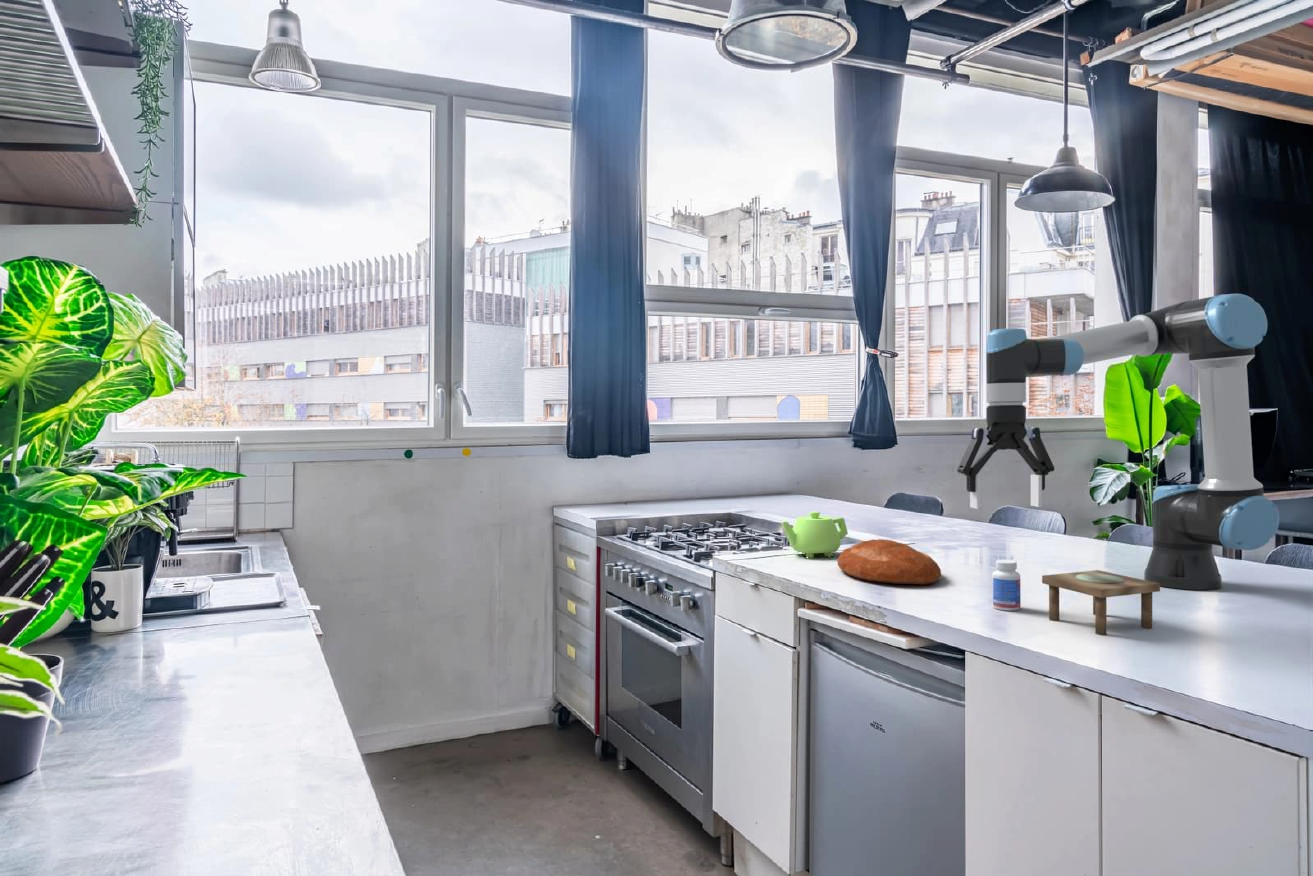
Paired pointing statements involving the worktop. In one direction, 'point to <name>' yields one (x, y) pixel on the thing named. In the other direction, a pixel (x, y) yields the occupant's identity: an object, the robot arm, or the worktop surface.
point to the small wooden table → (1101, 593)
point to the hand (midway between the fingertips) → (1005, 507)
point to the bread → (888, 563)
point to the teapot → (816, 534)
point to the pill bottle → (1006, 586)
